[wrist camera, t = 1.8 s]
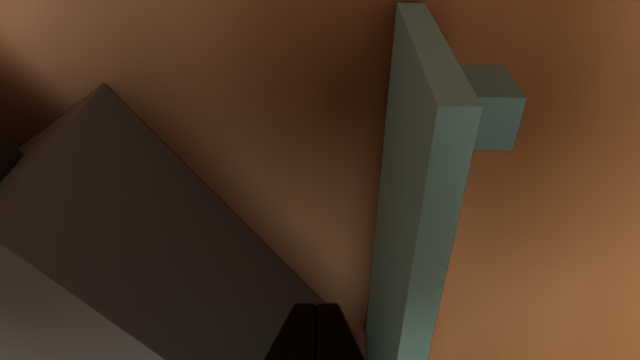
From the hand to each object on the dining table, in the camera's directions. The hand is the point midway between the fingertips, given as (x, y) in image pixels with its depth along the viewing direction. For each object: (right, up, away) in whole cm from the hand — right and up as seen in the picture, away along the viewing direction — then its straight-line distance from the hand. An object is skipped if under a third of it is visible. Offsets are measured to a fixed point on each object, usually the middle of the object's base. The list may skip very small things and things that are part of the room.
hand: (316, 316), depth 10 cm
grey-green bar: (+3, +1, +9) cm, 10 cm away
